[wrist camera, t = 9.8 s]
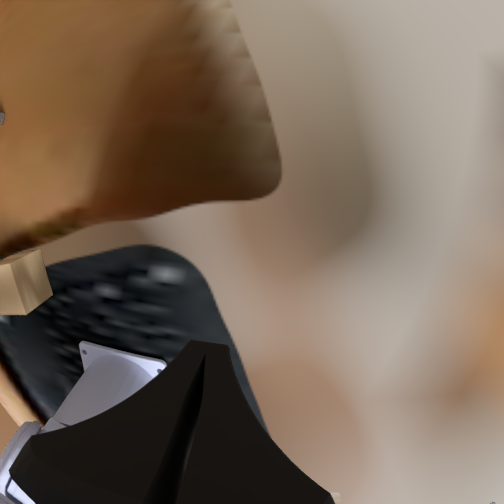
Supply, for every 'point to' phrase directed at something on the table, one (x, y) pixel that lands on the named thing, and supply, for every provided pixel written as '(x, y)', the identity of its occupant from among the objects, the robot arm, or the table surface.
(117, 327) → the table surface
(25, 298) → the oak cube
